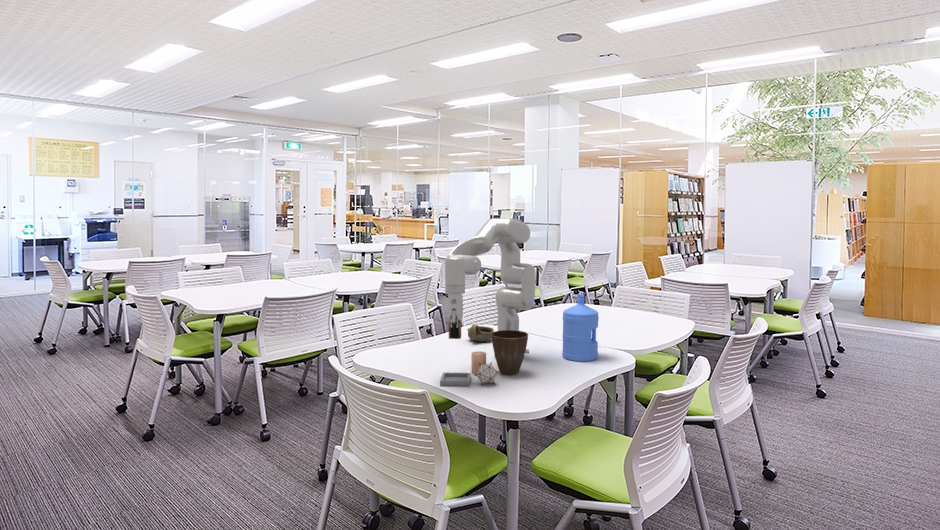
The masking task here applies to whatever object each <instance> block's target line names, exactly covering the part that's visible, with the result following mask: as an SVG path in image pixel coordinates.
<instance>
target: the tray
mask: <svg viewBox="0 0 940 530" xmlns="http://www.w3.org/2000/svg"><path fill="white" fill-rule="evenodd" d="M471 374H472V372H442V375H441V377H440V380H439V387H470V386H471V385H470V384H471V378H472V377H471V376H472V375H471Z"/></svg>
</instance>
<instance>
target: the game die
mask: <svg viewBox="0 0 940 530" xmlns="http://www.w3.org/2000/svg"><path fill="white" fill-rule="evenodd" d="M479 365H480V367H479V369H478V372H477V374H474V376H475V377H477V378H478V379H479V381H480V382H481V385H480V386H483V385H484V384H491V383H492V384H493V385H495V384H496V383H495V380H496V376H497V375H498V373H500V371H498V370H497V369H496V368H495V367H494V365H493V362H492V361H490V363H486V364H482V365H481V364H480V363H479Z"/></svg>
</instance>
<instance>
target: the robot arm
mask: <svg viewBox="0 0 940 530" xmlns="http://www.w3.org/2000/svg"><path fill="white" fill-rule="evenodd" d="M530 238H531V229H530V227H529V225H528V224H527V223H525V222H522V221H519V220H517V219H513V218H507V217H506V218H505V217H504V218H503V217H502V218H500V217H498V218H497V217H495V218H490V219H488V220H487V221H486V222H485V223H484V224H483V225H482V227H481V228H480V229H479V230H478V232H477V233H476V234H475V235H474V236H473V237H471V238H469V239H467V240H465V241H462V242H461V243H460V244H457V245H456V246H455V247H453V248H452V250H451V251H450V253H449V254H448V255H447V257H446V258H445V263H444V274H445V275H444V280H445V281H444V284H445V285H444V286H445V287H444V290H445V291H444V294H446V295H447V299H448V300H447V303H448V306H447V307H448V309H447V310H448V320H449V321H451V327H450V338H459V328H458V321H462V319H463V317H464V308H463V307H464V301H463V300H464V299H463V298H464V296H463V294H466V275H470V276H472V275H473V276H474V275H476V274H478V273H479V272H480V270H481V269H482V261H481V259H480V258H479V257H477V256H480V255H484V254H487V253H489V252H490V251H491V250H492V248H493V247H494V246H495V244H496V243H497V244H498V247H499V249H500V252H501V255H500V274H499V275H500V280H501V282H502V283H504V284H508V285H520V286H521V287H515V286H503V287H500V288H498V289H497V291H496V293H495V303H496V308H497V309H496V311H497V331H501V330H515V331H520V317H519V314H518V312H517V310H522V311H529V310H531V309H532V308H533V307H534V304H535V301H536V300H535V297H536V283H537V282H536V281H537V273H536V269H535V267H534V266H533V265H532V264H531V263H524V262H521V250H520V247H519V245H518V244H524V243H527V242H528V241H529V240H530ZM456 321H457V322H456ZM493 354H494V353H493ZM525 354H530V349H529V348H528V349H527V348H526V351H525ZM494 357H495V354H494Z"/></svg>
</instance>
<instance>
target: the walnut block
mask: <svg viewBox="0 0 940 530" xmlns="http://www.w3.org/2000/svg"><path fill="white" fill-rule="evenodd" d="M456 322H457V321H456ZM450 327H451V320H449V321H448V340H454V339H455V340H461V339H462V320H459V321H458V328H459V338H450Z"/></svg>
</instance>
